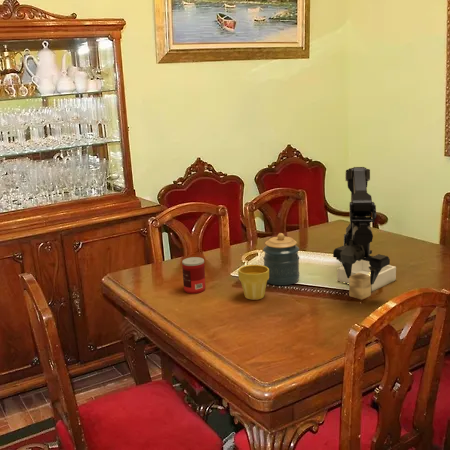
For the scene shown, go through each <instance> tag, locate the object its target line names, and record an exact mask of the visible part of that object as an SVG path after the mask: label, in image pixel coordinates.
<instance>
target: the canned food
mask: <svg viewBox="0 0 450 450" xmlns="http://www.w3.org/2000/svg"><path fill="white" fill-rule="evenodd" d="M181 265H182V266H181V267H182V279H183V280H182V282H183V291H184V292H185V293H187V294H193V295H194V294H195V295H196V294H200V293H203V292H204V291H205V290H206V269H205V259H204V258H203V257H197V256H195V257H194V256H192V257H187V258H184V259H182V262H181Z"/></svg>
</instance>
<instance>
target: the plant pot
mask: <svg viewBox="0 0 450 450" xmlns="http://www.w3.org/2000/svg"><path fill="white" fill-rule="evenodd" d="M237 273H238V274H237V275H238V280H239V281H240V283H241V287H242V291H243V294H244V295H243V296H244V298H246V299H248V300H253V301H255V300H261V299H264V297H265V294H266V289H267V288H266V287H267V284H268V283H267V280H268V279H269V268H268V267H266V266H264V265H261V264H247V265H244V266H240V267H239V268H238V269H237Z"/></svg>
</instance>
